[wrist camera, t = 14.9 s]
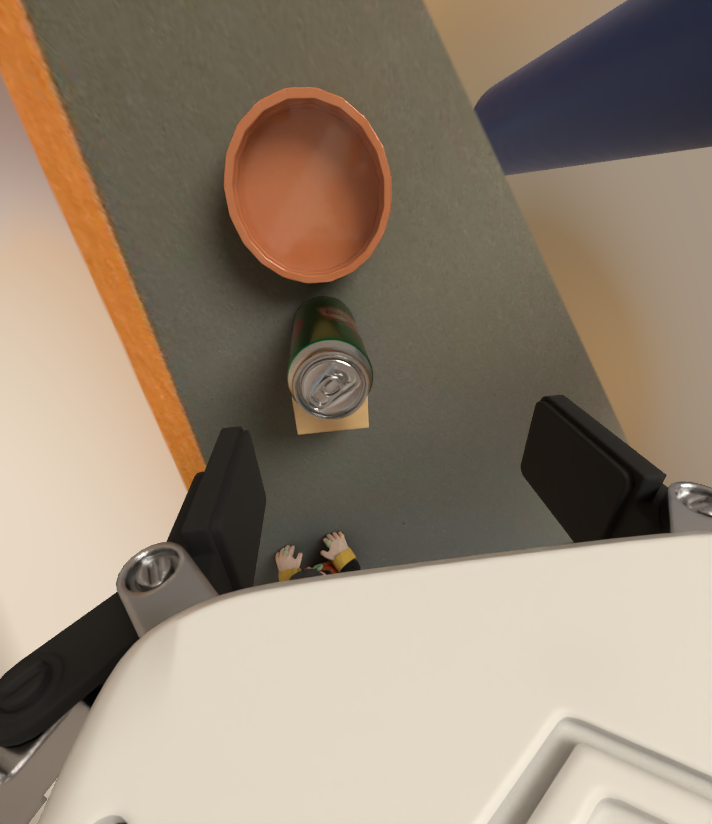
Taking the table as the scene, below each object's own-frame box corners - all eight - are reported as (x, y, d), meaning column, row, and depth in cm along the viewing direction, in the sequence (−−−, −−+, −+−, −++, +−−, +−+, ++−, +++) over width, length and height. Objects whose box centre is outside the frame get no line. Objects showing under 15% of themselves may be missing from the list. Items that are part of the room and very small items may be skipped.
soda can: (365, 324, 30) (394, 385, 20) (325, 364, 32) (332, 440, 22) (322, 281, 28) (330, 325, 18) (281, 325, 30) (266, 390, 19)
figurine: (355, 530, 49) (326, 505, 36) (380, 603, 44) (358, 605, 31) (292, 556, 49) (240, 541, 36) (310, 632, 44) (259, 647, 31)
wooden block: (359, 365, 32) (367, 390, 28) (361, 399, 34) (368, 427, 30) (293, 371, 32) (291, 397, 28) (299, 405, 34) (297, 435, 29)
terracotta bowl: (382, 97, 23) (391, 84, 20) (383, 270, 28) (391, 277, 26) (215, 103, 22) (203, 90, 20) (250, 280, 28) (244, 288, 25)
